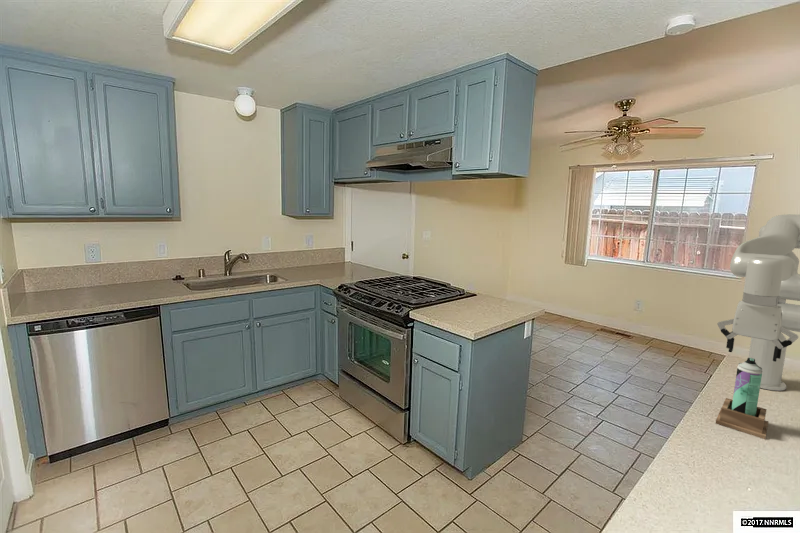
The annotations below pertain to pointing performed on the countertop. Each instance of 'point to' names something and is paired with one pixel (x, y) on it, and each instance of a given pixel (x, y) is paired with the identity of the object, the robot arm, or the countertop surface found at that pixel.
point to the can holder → (743, 420)
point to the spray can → (747, 387)
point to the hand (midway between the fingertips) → (751, 355)
